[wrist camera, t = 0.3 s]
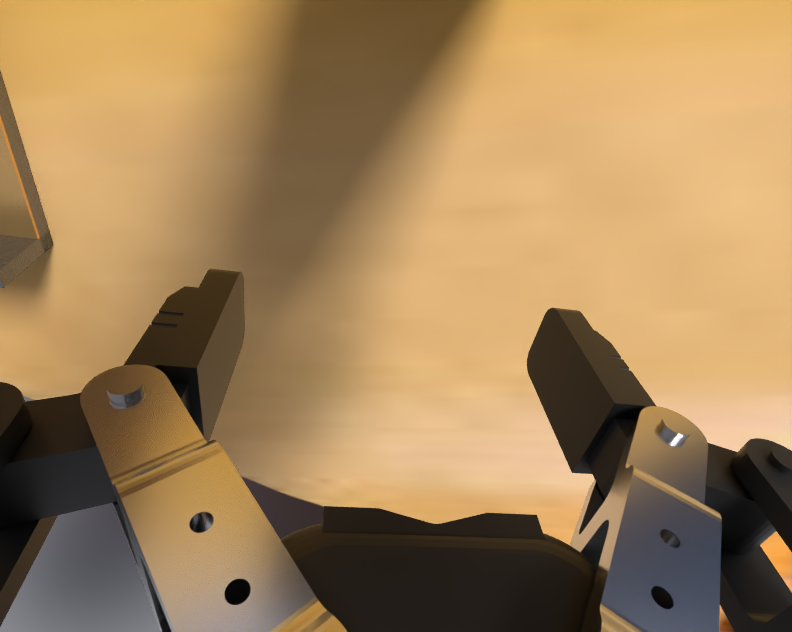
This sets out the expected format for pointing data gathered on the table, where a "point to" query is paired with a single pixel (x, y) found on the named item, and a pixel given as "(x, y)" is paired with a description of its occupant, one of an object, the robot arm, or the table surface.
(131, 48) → the table surface
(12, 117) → the bay
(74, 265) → the table surface
